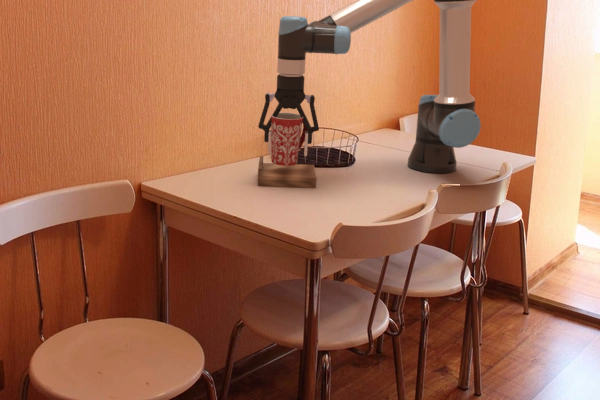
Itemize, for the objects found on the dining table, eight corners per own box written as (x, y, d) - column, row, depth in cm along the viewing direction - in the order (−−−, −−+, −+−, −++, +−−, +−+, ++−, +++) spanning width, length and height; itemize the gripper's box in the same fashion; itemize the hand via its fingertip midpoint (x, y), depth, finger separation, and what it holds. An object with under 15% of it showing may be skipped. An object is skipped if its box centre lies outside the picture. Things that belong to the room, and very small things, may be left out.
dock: (313, 174, 207) (314, 158, 206) (315, 188, 194) (316, 170, 192) (259, 172, 207) (259, 156, 205) (257, 186, 193) (258, 168, 192)
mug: (282, 168, 191) (285, 120, 187) (261, 160, 198) (264, 113, 194) (315, 163, 200) (319, 116, 196) (294, 155, 206) (298, 110, 202)
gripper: (330, 74, 195) (325, 152, 202) (250, 71, 194) (248, 149, 201) (332, 78, 188) (327, 159, 195) (249, 74, 187) (247, 155, 194)
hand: (287, 154), depth 198 cm, fingers closed on mug, 9 cm apart
